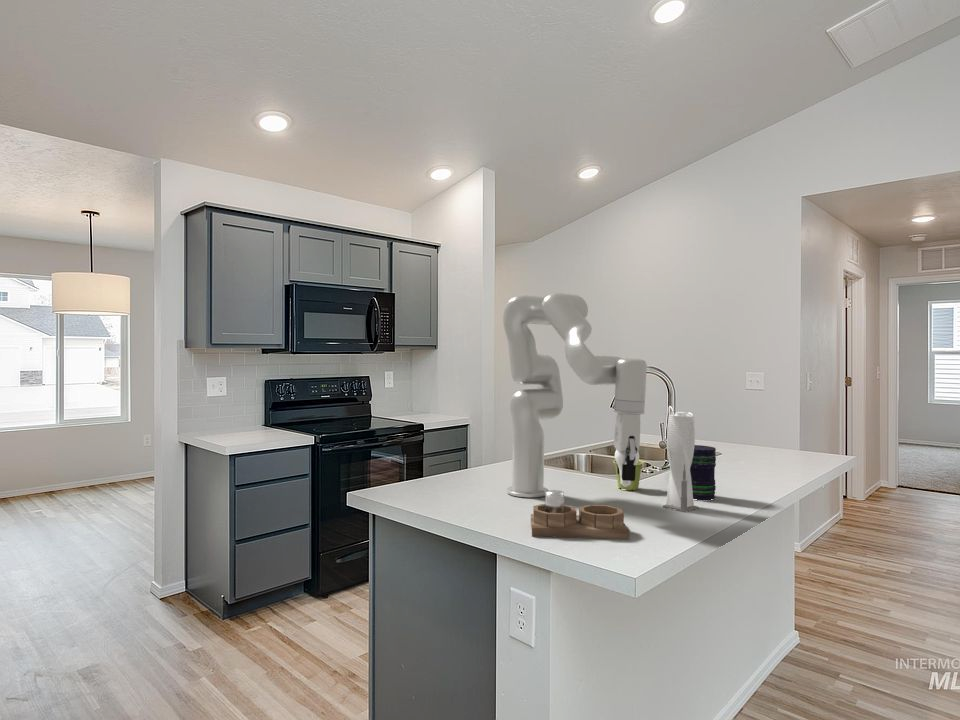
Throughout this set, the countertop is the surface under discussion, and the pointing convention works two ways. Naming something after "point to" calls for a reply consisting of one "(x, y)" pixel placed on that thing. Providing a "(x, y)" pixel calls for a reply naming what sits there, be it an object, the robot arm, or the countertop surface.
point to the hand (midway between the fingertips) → (625, 476)
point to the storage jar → (703, 472)
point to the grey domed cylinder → (554, 501)
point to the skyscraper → (680, 460)
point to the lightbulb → (620, 460)
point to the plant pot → (633, 484)
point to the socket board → (580, 522)
